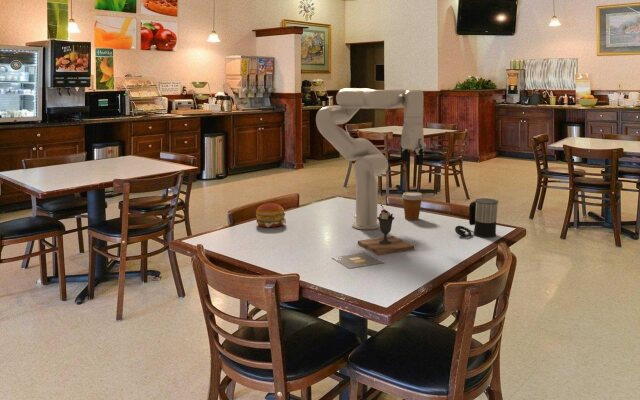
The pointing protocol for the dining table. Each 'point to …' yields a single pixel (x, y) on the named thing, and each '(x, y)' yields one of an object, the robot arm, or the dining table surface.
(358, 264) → the card
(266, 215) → the burger
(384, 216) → the sundae
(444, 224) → the dining table surface
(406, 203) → the disposable coffee cup
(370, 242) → the board
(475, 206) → the milk frother
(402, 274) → the dining table surface
